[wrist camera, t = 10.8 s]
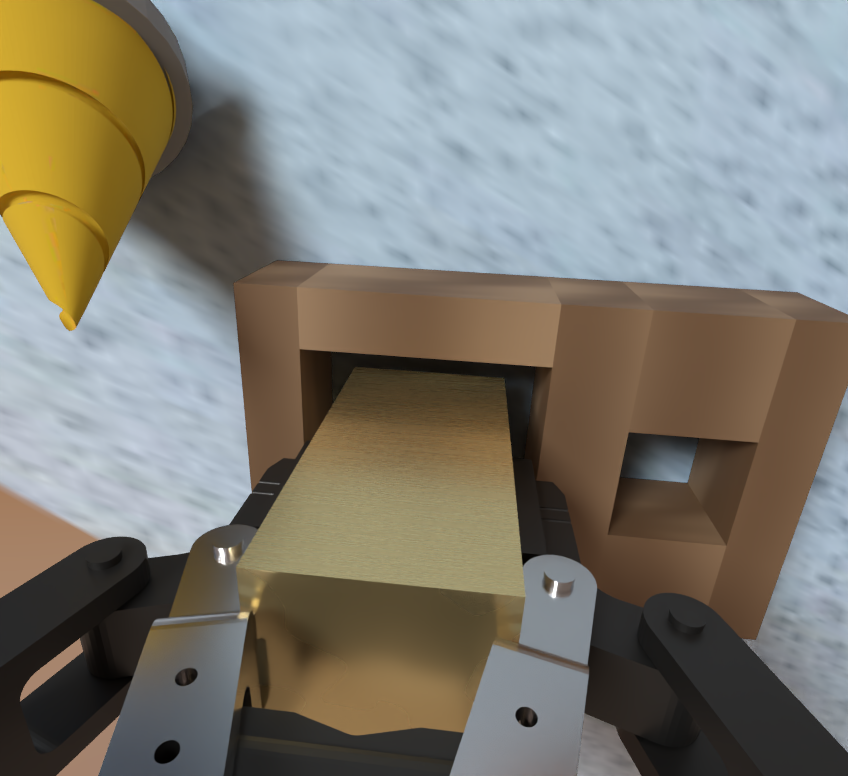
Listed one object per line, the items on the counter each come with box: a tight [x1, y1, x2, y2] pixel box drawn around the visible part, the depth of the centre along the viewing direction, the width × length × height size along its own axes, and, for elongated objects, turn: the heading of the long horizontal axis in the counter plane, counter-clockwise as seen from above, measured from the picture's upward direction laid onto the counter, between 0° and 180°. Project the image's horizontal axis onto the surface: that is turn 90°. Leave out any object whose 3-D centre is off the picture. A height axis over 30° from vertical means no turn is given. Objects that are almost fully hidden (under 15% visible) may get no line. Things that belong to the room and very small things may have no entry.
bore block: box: [233, 260, 848, 640], centre depth 16 cm, size 14×9×3 cm, turn 88°
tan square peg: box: [236, 367, 526, 735], centre depth 12 cm, size 4×4×8 cm
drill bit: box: [0, 0, 193, 331], centre depth 12 cm, size 5×5×10 cm
